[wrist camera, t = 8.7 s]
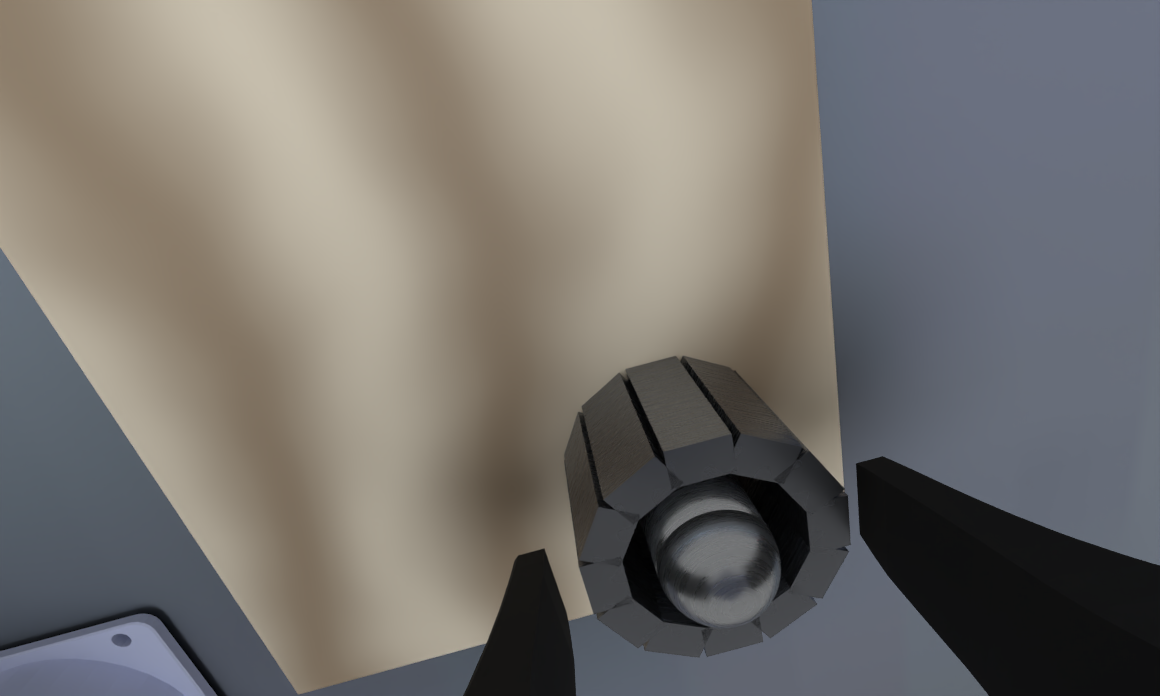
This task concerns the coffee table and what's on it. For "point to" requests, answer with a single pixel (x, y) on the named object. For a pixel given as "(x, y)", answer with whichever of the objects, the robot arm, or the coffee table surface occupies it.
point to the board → (408, 270)
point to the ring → (681, 457)
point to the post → (713, 553)
